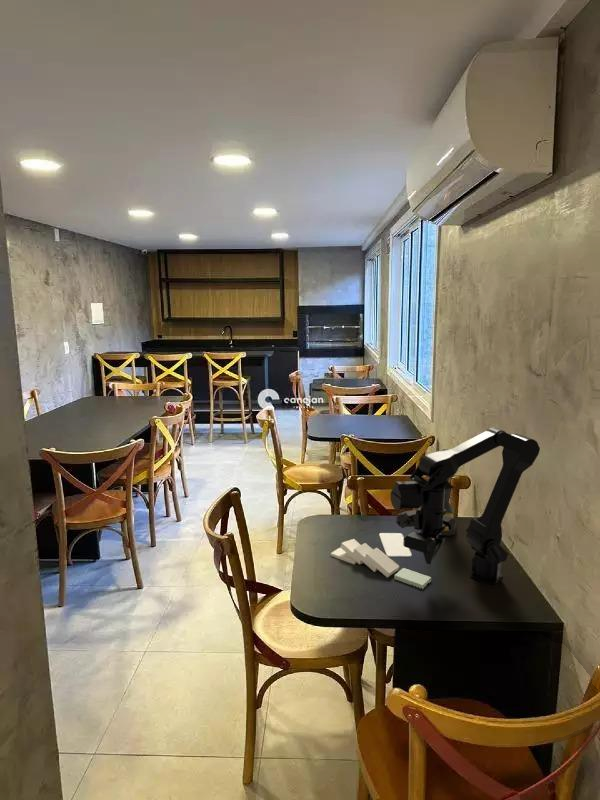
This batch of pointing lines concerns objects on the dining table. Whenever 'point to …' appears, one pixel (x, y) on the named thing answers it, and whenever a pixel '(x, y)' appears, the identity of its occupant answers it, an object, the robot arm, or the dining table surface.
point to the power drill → (448, 509)
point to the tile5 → (343, 556)
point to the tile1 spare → (412, 578)
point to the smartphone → (394, 545)
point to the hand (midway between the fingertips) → (428, 563)
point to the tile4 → (351, 549)
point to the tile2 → (382, 562)
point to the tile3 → (361, 554)
